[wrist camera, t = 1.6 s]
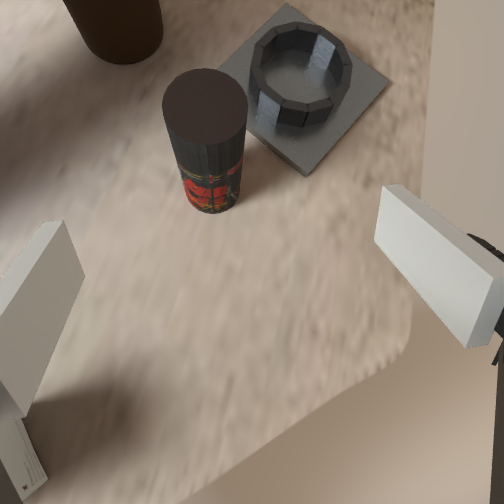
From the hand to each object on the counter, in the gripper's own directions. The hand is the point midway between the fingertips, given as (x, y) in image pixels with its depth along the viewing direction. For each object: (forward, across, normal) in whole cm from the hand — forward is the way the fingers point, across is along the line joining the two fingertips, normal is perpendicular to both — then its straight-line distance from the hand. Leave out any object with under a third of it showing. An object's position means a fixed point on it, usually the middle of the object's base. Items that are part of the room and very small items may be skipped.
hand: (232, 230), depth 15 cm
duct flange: (+32, +11, 0) cm, 34 cm away
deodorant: (+24, 0, -8) cm, 25 cm away
